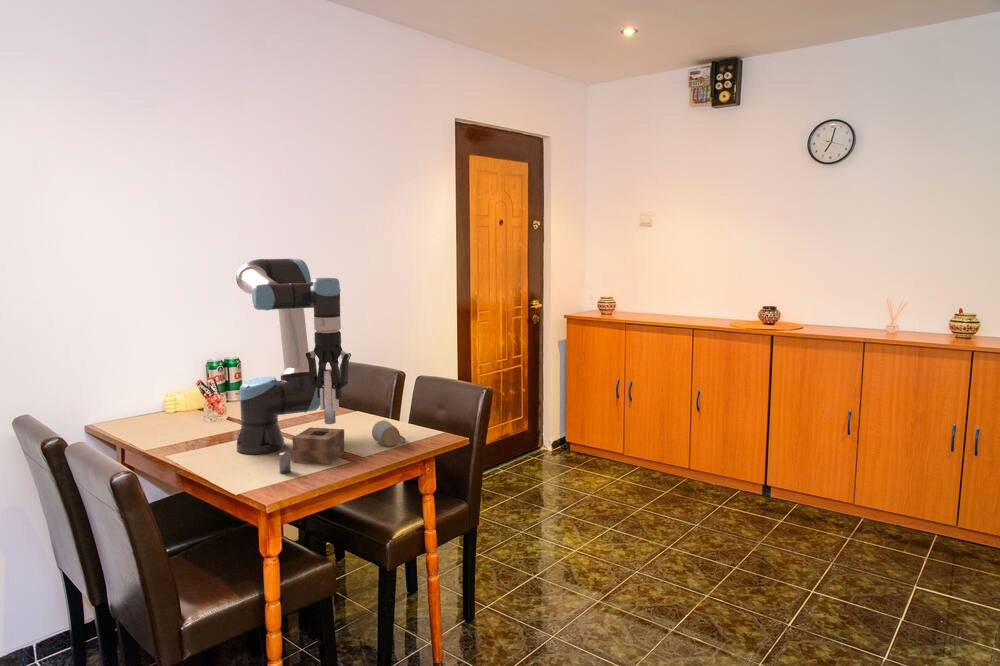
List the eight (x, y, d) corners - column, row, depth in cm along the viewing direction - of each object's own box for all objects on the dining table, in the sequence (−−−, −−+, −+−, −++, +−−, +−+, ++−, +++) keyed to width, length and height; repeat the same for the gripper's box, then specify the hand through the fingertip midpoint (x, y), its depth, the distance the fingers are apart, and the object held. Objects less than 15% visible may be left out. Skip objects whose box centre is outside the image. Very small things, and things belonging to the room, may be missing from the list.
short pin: (277, 473, 200) (276, 454, 199) (283, 470, 203) (282, 451, 203) (287, 474, 200) (286, 455, 199) (292, 470, 203) (292, 451, 202)
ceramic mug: (381, 449, 224) (381, 427, 224) (371, 443, 231) (371, 421, 230) (410, 444, 231) (410, 422, 230) (399, 438, 237) (399, 417, 236)
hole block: (293, 462, 211) (292, 437, 210) (310, 450, 222) (309, 427, 221) (329, 464, 209) (328, 439, 208) (344, 452, 220) (344, 429, 219)
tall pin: (322, 423, 198) (321, 370, 196) (327, 421, 201) (325, 368, 199) (332, 424, 197) (331, 371, 195) (337, 421, 201) (336, 369, 198)
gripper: (295, 331, 193) (298, 410, 196) (348, 333, 190) (350, 413, 194) (307, 328, 200) (309, 404, 204) (358, 330, 198) (360, 407, 201)
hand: (329, 409), depth 199 cm, fingers closed on tall pin, 3 cm apart
